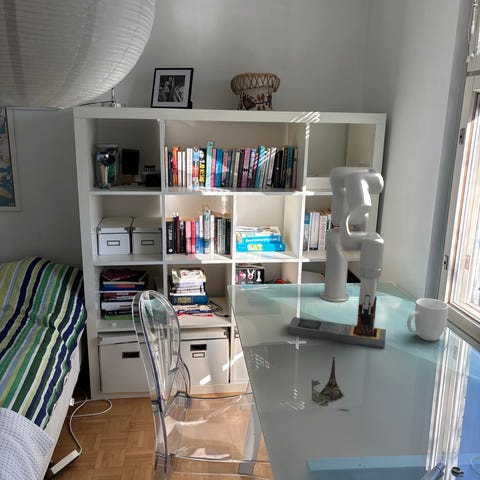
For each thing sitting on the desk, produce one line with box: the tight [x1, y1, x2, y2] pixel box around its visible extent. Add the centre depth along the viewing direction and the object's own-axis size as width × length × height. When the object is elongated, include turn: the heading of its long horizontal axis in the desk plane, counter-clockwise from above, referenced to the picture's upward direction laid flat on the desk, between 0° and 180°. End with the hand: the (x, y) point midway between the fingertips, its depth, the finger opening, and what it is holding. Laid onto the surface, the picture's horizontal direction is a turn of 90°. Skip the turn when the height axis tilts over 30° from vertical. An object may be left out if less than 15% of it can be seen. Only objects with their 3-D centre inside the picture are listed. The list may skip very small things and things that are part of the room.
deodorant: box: [355, 294, 378, 337], centre depth 171 cm, size 6×6×15 cm
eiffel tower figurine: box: [311, 356, 350, 412], centre depth 135 cm, size 15×10×13 cm
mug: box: [406, 298, 449, 342], centre depth 174 cm, size 15×11×13 cm
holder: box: [287, 316, 387, 349], centre depth 175 cm, size 10×34×3 cm, turn 72°
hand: (366, 320), depth 171 cm, fingers closed on deodorant, 5 cm apart
